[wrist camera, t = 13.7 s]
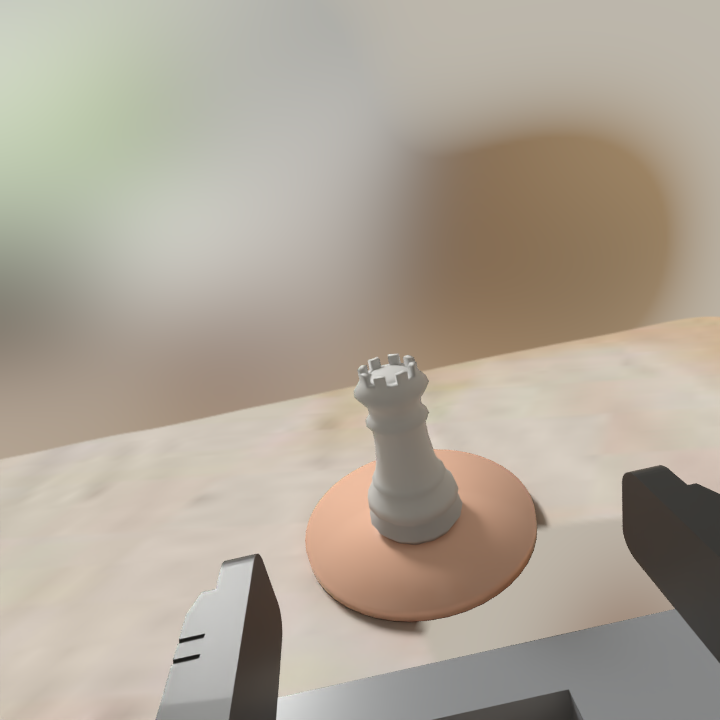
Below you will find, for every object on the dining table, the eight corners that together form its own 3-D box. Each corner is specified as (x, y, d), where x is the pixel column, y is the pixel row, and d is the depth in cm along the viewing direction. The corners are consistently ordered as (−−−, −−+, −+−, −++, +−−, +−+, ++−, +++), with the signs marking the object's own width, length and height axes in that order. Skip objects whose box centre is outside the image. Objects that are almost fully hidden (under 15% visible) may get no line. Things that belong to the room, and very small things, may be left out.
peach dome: (437, 677, 17) (434, 665, 17) (265, 546, 25) (261, 537, 25) (580, 499, 24) (579, 489, 24) (407, 439, 32) (405, 431, 31)
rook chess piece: (355, 538, 24) (314, 388, 21) (394, 480, 27) (365, 344, 24) (445, 559, 21) (414, 393, 18) (475, 493, 25) (454, 345, 22)
